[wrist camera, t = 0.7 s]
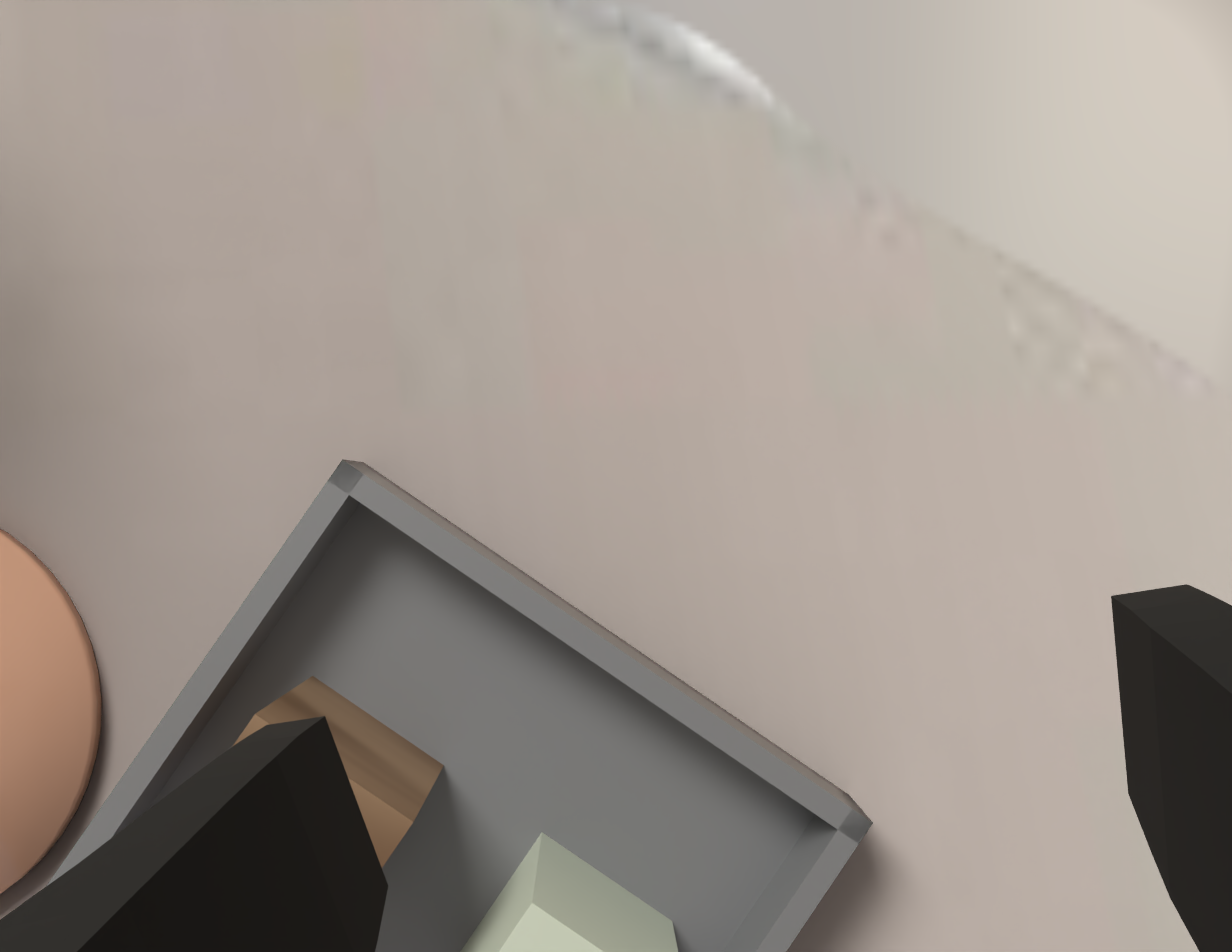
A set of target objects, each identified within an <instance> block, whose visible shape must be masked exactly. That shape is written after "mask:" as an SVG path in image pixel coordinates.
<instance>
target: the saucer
mask: <svg viewBox="0 0 1232 952" xmlns="http://www.w3.org/2000/svg"><path fill="white" fill-rule="evenodd" d="M100 731H101V691H100V682H99V674H98V669H97V665H96V661H95V657H94V653H93V649H92V645H91V642H90V639H89V637H88V634H87V632H86V629H85V627H84V624H83V622H82V619H81V617H80V615H79V614H78V612H77V610H76V608H75V606H74V605H73V603H72V601H71V599H70V597H69V596H68V594H67V592H66V591H65V590H64V588H63V587H62V586H61V584H60V583H59V582H58V580H57V579H56V578H55V576H54V575H53V574H52V572H51V571H50V570H49V569H48V568H47V567H46V566H45V565H44V564H43V563H42V562H41V561H40V560H39V559H38V558H37V557H36V556H35V555H34V554H33V553H32V552H31V551H30V550H29V549H28V548H26V547H25V546H24V545H23V544H21V543H20V542H19V541H17V540H16V539H15V538H14V537H12V536H11V535H10V534H9V533H7V532H5V531H3V530H2V529H0V894H1V893H3V892H4V891H5V890H7V889H8V888H9V887H11V886H12V885H13V884H15V883H16V882H17V881H19V880H20V879H21V878H23V877H24V876H25V875H26V874H27V873H28V872H29V871H30V870H31V869H32V868H33V867H34V866H35V865H36V864H37V863H38V862H39V861H40V860H42V859H43V858H44V857H45V855H46V854H47V853H48V852H49V850H50V849H51V848H52V847H53V845H54V844H55V843H56V842H57V840H58V839H59V838H60V837H61V835H62V834H63V832H64V831H65V829H66V827H67V826H68V824H69V822H70V821H71V819H72V817H73V816H74V814H75V813H76V811H77V809H78V807H79V804H80V802H81V800H82V798H83V795H84V793H85V791H86V788H87V786H88V784H89V781H90V777H91V774H92V770H93V767H94V763H95V760H96V757H97V750H98V744H99V737H100Z"/></svg>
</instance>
